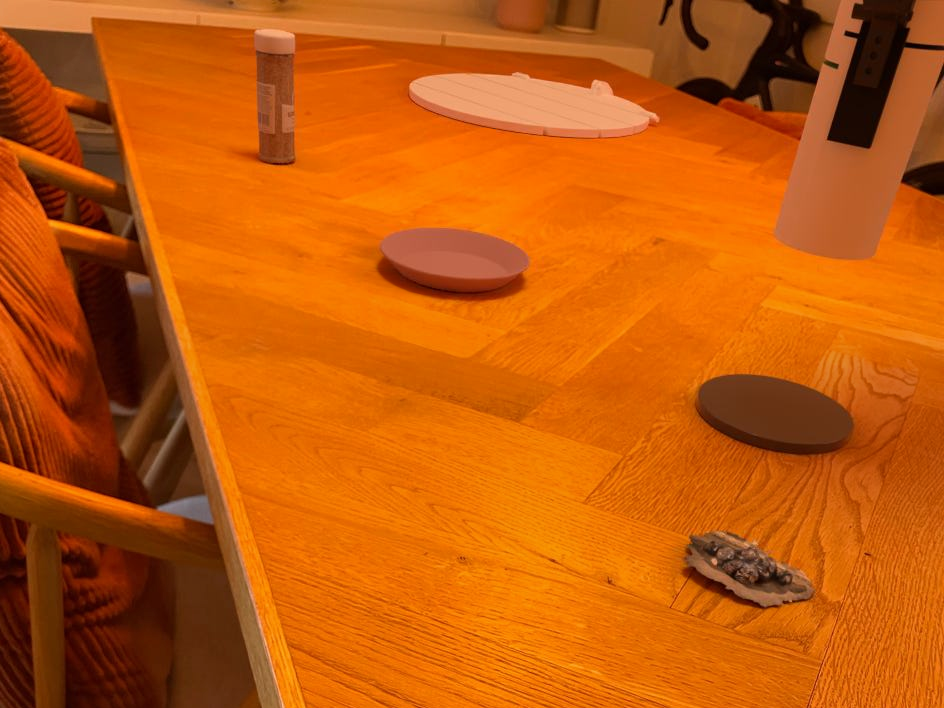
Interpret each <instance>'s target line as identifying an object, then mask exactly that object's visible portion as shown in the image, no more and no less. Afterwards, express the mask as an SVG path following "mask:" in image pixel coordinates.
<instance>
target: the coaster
mask: <svg viewBox="0 0 944 708" xmlns="http://www.w3.org/2000/svg"><path fill="white" fill-rule="evenodd" d="M695 407H696V410H697V412H698V413H699V415H700V416H701V418H703V419H704V421H706V422H707V423H708V424H709V425H710V426H712V427H713V428H714V429H716V430H718V431H719V432H721V433H723V434H725V435H727V436H729V437H730V438H733V439H735V440H737V441H740V442H743V443H745V444H749V445H751V446H755V447H758V448H761V449H766V450H771V451H774V452H781V453H787V454H800V455H811V454H812V455H816V454H825V453H830V452H833V451H836V450H839V449H841V448H843V447H844V446H845V445H847V443H848V442H849V441H850V440H851V437H852V434H853V431H854V428H855V422H854V418H853V417H852V415H851V413H850V412H849V411H848V410H847V409H846V407H844V406H843V405H842V404H841V403H839V402H838V401H836V400H835V399H833V398H832V397H830V396H828V395H827V394H825V393H823V392H821V391H819V390H817V389H814V388H811V387H809V386H807V385H804V384H801V383H798V382H795V381H791V380H787V379H785V378H780V377H774V376H769V375H761V374H751V373H734V374H732V373H731V374H725V375H720V376H719V375H718V376H715V377H713V378H710V379H708V380H706V381H705V382H703V383H702V384H701V385H700V386H699V388H698V390H697V393H696V398H695Z"/></svg>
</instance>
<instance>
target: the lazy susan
mask: <svg viewBox="0 0 944 708" xmlns="http://www.w3.org/2000/svg"><path fill="white" fill-rule="evenodd" d="M408 90H409V91H408V96H409V98H410V99H411V100H412V101H413V102H414V103H415V104H417V105H418V106H420V107H422V108H423V109H425V110H428V111H430V112H433V113H434V114H435V113H436V114H439V115H441V116H444V117H447V118H450V119H453V120H456V121H461V122H465V123H469V124H473V125H477V126H481V127H486V128H492V129H498V130H502V131H510V132H515V133H522V134H529V135H538V136H543V135H544V136H548V137H560V138H575V139H576V138H577V139H582V138H583V139H598V138H601V139H604V138H618V137H627V136H632V135H636V134H639V133H641V132H644V131H645V130H647V128H648V126H649V123H650V121H651V122H654V123H659V121H660V119H661V118H660V116H659V115H657V113H655V112H652V111H649V110H646V109H645V108H644V107H642V106H641V105H638V103H635V102H632V101H630V100H628V99H625V98H622V97H619V96H617V95H614V92H613V89H612V87H611V86H610V84H609V83H608V82H607V81H603V80H599V79H594V80H593V81H592V83H591V86H590V88H588V87H583V86H578V85H574V84H569V83H564V82H558V81H552V80H547V79H539V78H532V77H531V76H530V75H529V74H526V73H522V72H520V71H519V72H518V71H516V72H514V73H511V75H505V74H489V73H488V74H487V73H442V74H441V73H440V74H433V75H427V76H423V77H419V78H417V79H414V80H412V81H411V82H410V84H409V89H408Z"/></svg>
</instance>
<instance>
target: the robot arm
mask: <svg viewBox="0 0 944 708" xmlns="http://www.w3.org/2000/svg"><path fill="white" fill-rule="evenodd" d="M915 3H916V0H863V4H859V3H855V4H854V7H853V10H852V15H851V18H852V19H857V20H863V22H862V25H861V29H860V32H859V35H858V38H857V42H856V45H855V48H854V51H853V55H852V58H851V61H850V65H849V68H848V71H847V74H846V78H845V81H844V84H843V88H842V91H841V94H840V97H839V101H838V104H837V107H836V111H835V114H834V117H833V120H832V124H831V127H830V130H829V133H828V137H827V140H828V141H833V142H838V143H843V144H847V145H852V146H857V147H862V148H867V149H870V148H871V146H872V143H873V140H874V137H875V134H876V131H877V128H878V125H879V122H880V119H881V116H882V113H883V110H884V107H885V104H886V101H887V98H888V95H889V92H890V89H891V86H892V83H893V80H894V77H895V74H896V71H897V68H898V65H899V62H900V59H901V56H902V53H903V50H904V47H905V44H906V40H907V37H908V34H909V31H910V28H907V27H906V26H907V24H908V22H909V21H911V19H912V17H913V13H914V11H913V8H914V6H915Z"/></svg>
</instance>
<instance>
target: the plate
mask: <svg viewBox="0 0 944 708" xmlns="http://www.w3.org/2000/svg"><path fill="white" fill-rule="evenodd" d="M379 249H380V252H381V254H382V255H383V256H384V257H385V258H386V259H387V260H388V262H389V263H390V264H391V265H392V266H393V267H394V268H395V269H396V271H397V272H398V273H399V274H400V275H402V276H403V277H404V278H405V279H407V278H408V279H407V280H409V279H410V280H409V281H411V280H412V281H411V282H413V281H414V282H413V283H415V282H417V283H416V284H418V283H420V284H422V285H421V286H423V285H425V286H424V287H427V286H429V287H428V288H430V287H433V288H432V289H434V288H436V290H439V289H440V291H445V290H447V291H446V292H453V291H456V292H455V293H484V292H491V291H494V290H497V289H500V288H502V287H504V286H506V285H507V284H509V283H510V282H512V281H513V280H514V279H516V278H517V277H519V276H520V275H522V274H523V273H524V272H525V271H526V270H528V268H529V267H530V264H531V259H530V256H529V255H528V254H527V252H525V250H523V248H521V247H519V246H517V245H516V244H514V243H513V242H510V241H508V240H505V239H503V238H499V237H498V236H494V235H490V234H486V233H483V232H478V231H473V230H468V229H467V230H466V229H460V228H449V227H417V228H416V227H415V228H408V229H403V230H399V231H396V232H393V233H390V234H388V235H387V236H385V237H384V238H383V239H382V240H381V241H380V243H379ZM420 284H419V285H420Z"/></svg>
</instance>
